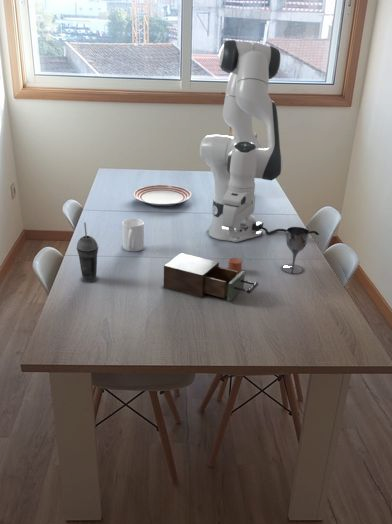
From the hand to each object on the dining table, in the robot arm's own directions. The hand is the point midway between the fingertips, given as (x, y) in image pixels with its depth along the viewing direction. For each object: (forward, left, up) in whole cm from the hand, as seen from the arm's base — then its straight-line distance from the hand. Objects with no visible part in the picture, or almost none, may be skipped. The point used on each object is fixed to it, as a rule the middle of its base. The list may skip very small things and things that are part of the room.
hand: (237, 232), depth 203 cm
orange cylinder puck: (0, 0, -15) cm, 15 cm away
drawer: (+12, +14, -14) cm, 24 cm away
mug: (+26, -33, -15) cm, 45 cm away
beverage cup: (+50, -15, -15) cm, 54 cm away
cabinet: (+20, +4, -15) cm, 25 cm away
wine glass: (-21, +7, -15) cm, 27 cm away
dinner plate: (-11, -83, -15) cm, 85 cm away
